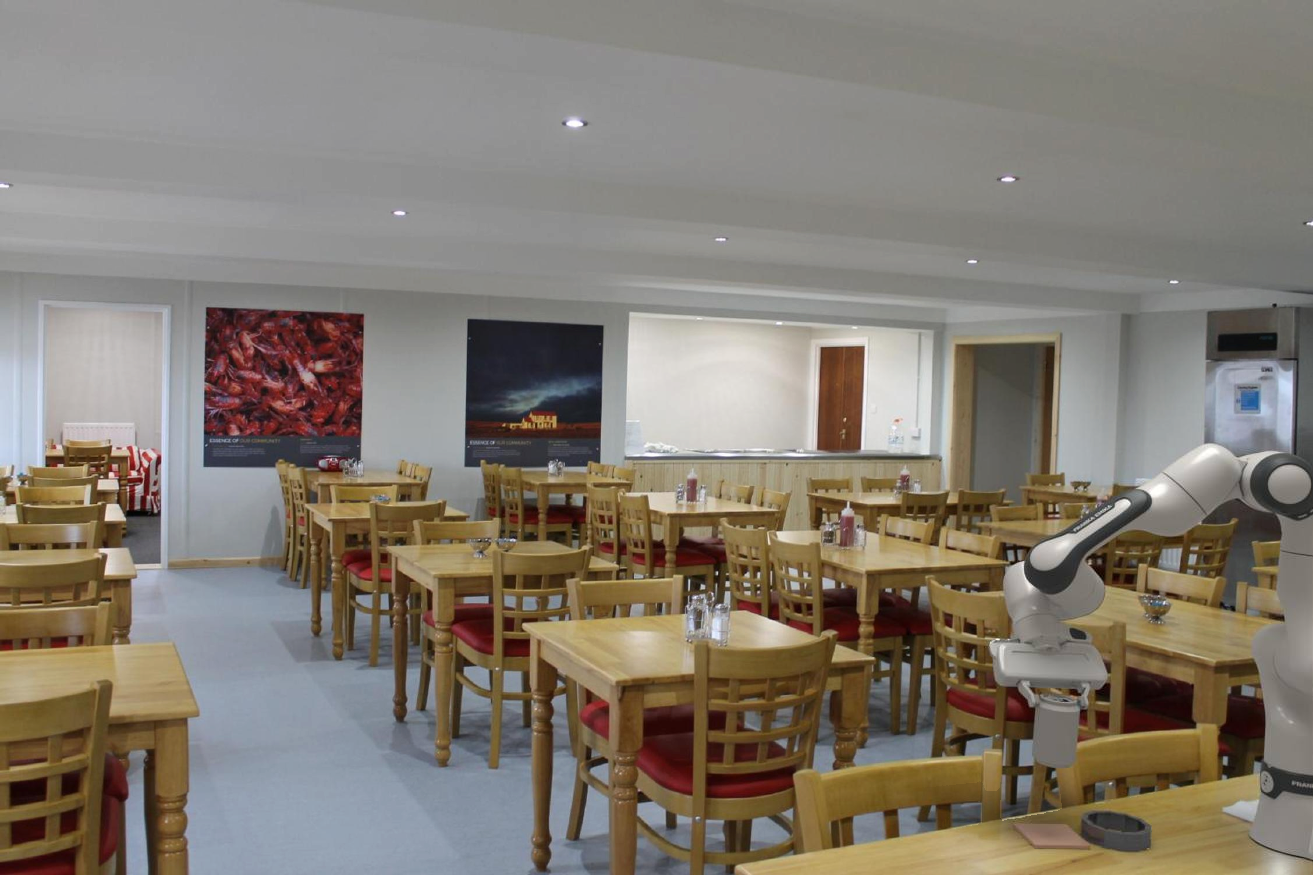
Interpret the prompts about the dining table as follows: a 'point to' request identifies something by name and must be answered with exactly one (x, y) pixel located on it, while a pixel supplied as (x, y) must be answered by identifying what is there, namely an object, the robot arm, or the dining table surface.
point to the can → (1056, 731)
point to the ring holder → (1130, 840)
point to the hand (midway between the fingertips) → (1059, 706)
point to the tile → (1051, 836)
